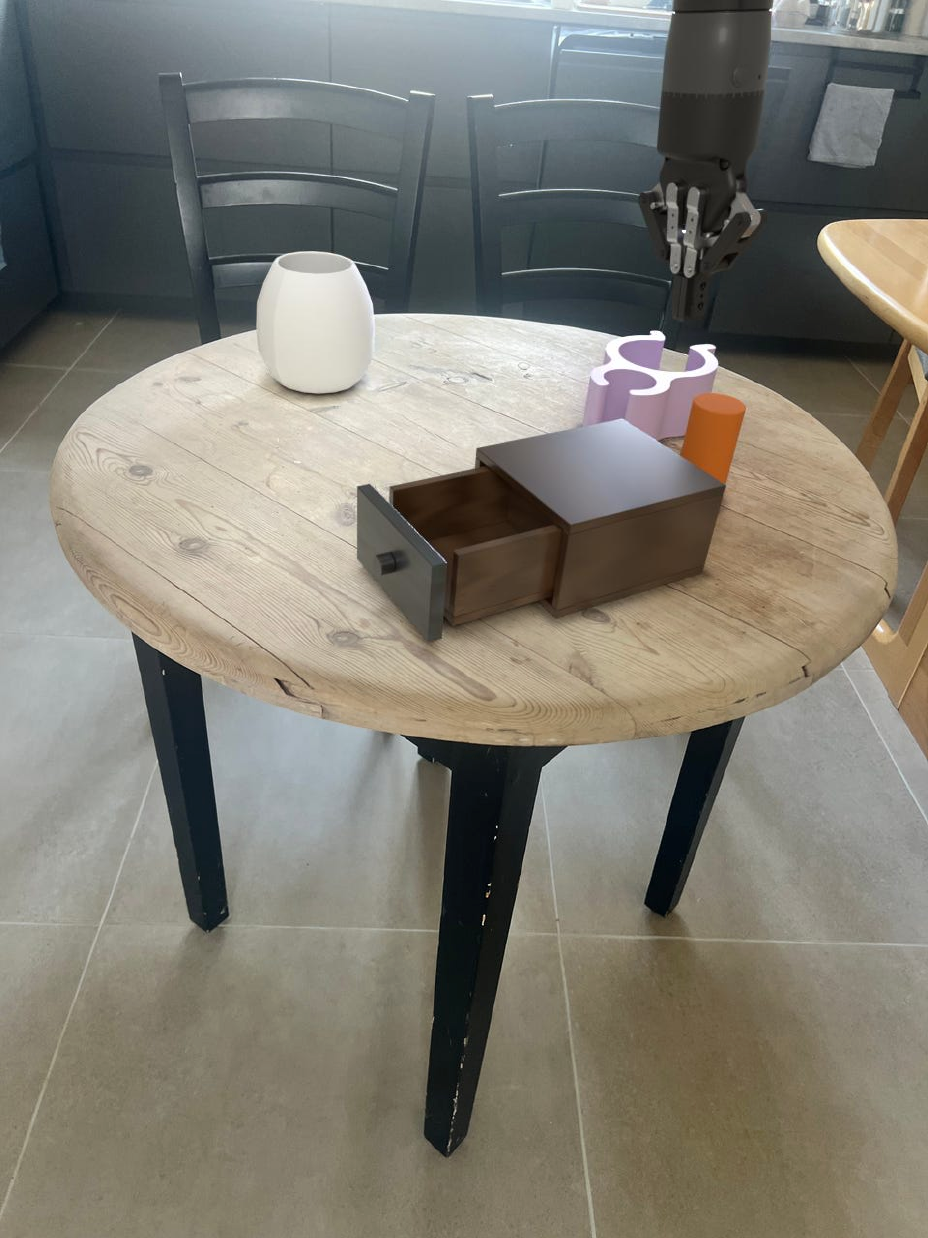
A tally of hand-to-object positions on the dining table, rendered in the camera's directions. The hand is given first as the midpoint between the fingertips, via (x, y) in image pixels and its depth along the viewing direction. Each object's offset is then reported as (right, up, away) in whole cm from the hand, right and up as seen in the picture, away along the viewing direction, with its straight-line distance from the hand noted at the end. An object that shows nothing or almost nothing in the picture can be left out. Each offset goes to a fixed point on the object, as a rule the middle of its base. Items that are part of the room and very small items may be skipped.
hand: (686, 319), depth 77 cm
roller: (+4, -14, +12) cm, 19 cm away
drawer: (-19, -22, -4) cm, 30 cm away
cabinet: (-8, -20, +2) cm, 22 cm away
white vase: (-36, +2, +29) cm, 46 cm away
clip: (+1, -3, +26) cm, 26 cm away
